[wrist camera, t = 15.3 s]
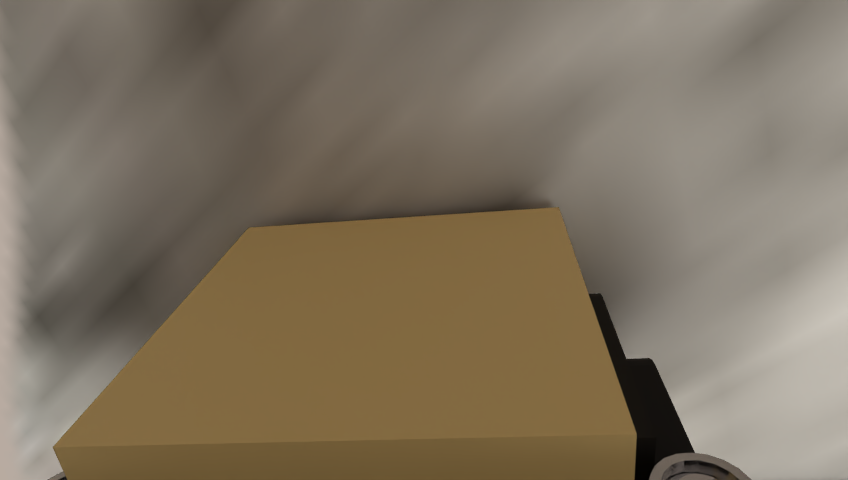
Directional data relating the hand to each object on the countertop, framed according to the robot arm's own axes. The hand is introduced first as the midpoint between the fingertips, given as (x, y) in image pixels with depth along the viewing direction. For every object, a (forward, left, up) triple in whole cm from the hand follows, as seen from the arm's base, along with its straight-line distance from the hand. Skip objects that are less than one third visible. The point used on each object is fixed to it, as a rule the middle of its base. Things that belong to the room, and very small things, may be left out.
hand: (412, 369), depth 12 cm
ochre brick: (0, 0, -1) cm, 1 cm away
